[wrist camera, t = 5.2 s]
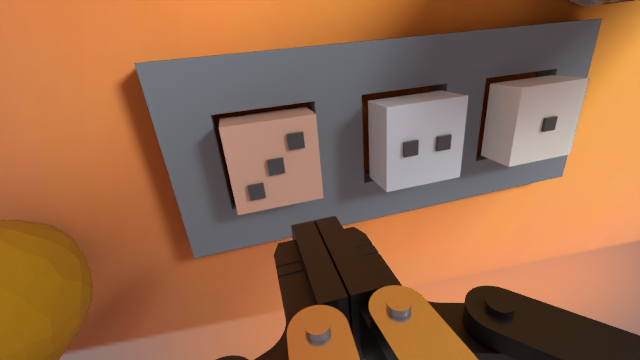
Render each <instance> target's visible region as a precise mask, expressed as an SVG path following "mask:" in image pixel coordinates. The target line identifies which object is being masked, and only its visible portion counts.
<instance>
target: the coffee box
mask: <svg viewBox="0 0 640 360" xmlns="http://www.w3.org/2000/svg"><path fill="white" fill-rule="evenodd" d="M569 1H571V2H573V3H575V4H577V5H580V6H582V7H589V6H596V5H603V4H610V3H618V2H625V1H633V0H569Z"/></svg>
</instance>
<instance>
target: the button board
mask: <svg viewBox="0 0 640 360" xmlns="http://www.w3.org/2000/svg"><path fill="white" fill-rule="evenodd" d="M601 20H602V19H591V20H579V21H568V22H558V23H548V24H537V25H527V26H516V27H506V28H496V29H485V30H475V31H464V32H454V33H443V34H433V35H423V36H412V37H402V38H391V39H381V40H371V41H360V42H350V43H339V44H329V45H318V46H308V47H298V48H287V49H277V50H266V51H256V52H245V53H235V54H225V55H214V56H204V57H193V58H183V59H173V60H162V61H152V62H142V63H134V64H135V67H136V70H137V74H138V77H139V80H140V83H141V87H142V90H143V93H144V96H145V100H146V103H147V106H148V109H149V113H150V116H151V119H152V122H153V126H154V129H155V132H156V135H157V139H158V142H159V145H160V148H161V152H162V155H163V158H164V161H165V165H166V168H167V171H168V174H169V178H170V181H171V184H172V187H173V191H174V194H175V197H176V200H177V204H178V207H179V210H180V213H181V217H182V220H183V223H184V226H185V230H186V233H187V236H188V239H189V243H190V246H191V249H192V252H193V256H194V259H195V258H200V257H204V256H208V255H213V254H217V253H222V252H226V251H231V250H235V249H240V248H244V247H249V246H253V245H258V244H262V243H267V242H271V241H276V240H280V239H284V238H289V237H292V230H291V225H294V224H298V223H303V222H308V221H313V222H314V220H317V219H322V218H327V217H331V216H336V217H337V219H338V220H339V222H340V224H341V225H342V226H343V225H347V224H351V223H356V222H360V221H365V220H369V219H374V218H378V217H383V216H387V215H392V214H396V213H401V212H405V211H410V210H414V209H418V208H423V207H427V206H432V205H436V204H441V203H445V202H450V201H454V200H459V199H463V198H468V197H472V196H477V195H481V194H485V193H490V192H494V191H499V190H503V189H508V188H512V187H517V186H521V185H526V184H530V183H535V182H539V181H544V180H548V179H553V178H557V177H561V176H562V175H563V171H564V167H565V163H566V159H567V155H564V156H559V157H554V158H549V159H545V160H540V161H535V162H530V163H525V164H520V165H516V166H511V167H508V166H505V165H503V164H500V163H498V162H496V161H493V160H491V159H488V158H486V157H484V156H481V151H480V152H477V147H478V139H479V131H480V123H481V115H482V107H483V99H484V91H485V83H486V78H492V77H499V76H506V75H514V74H521V73H529V72H536V71H537V74H536V77H542V76H549V75H557V76H570V77H583V78H587V75H588V71H589V67H590V63H591V60H592V56H593V52H594V48H595V44H596V40H597V36H598V32H599V28H600V24H601ZM432 85H433V88H432V92H434V91H441V90H442V91H447V92H452V93H458V94H463V95H468V105H467V114H466V124H465V133H464V143H463V152H462V162H461V171H460V177H458V178H453V179H448V180H443V181H438V182H433V183H429V184H424V185H419V186H414V187H409V188H404V189H400V190H395V191H390V192H386V191H385V190H384V189H383V188H381V187H380V186H379V185H378V184H377V183H376V182H375V181H374V180H373V179H371V178H370V172H369V173H364V154H363V121H362V95H365V94H372V93H380V92H387V91H395V90H402V89H409V88H417V87H424V86H432ZM305 102H309V107H310V110H311V111H313V112H314V113H315V114H316V120H317V131H318V142H319V153H320V164H321V175H322V186H323V197H324V198H321V199H316V200H311V201H306V202H301V203H296V204H291V205H286V206H281V207H276V208H271V209H267V210H262V211H257V212H252V213H247V214H242V215H238V213H237V208H236V204H235V199H234V198H233V199H232V197H231V192H230V188H229V184H228V179H227V175H226V170H225V166H224V161H223V157H222V153H221V148H220V144H219V139H218V135H217V130H216V126H215V122H214V117H213V115H215V114H223V113H230V112H238V111H245V110H253V109H260V108H268V107H275V106H283V105H290V104H298V103H305Z"/></svg>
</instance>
